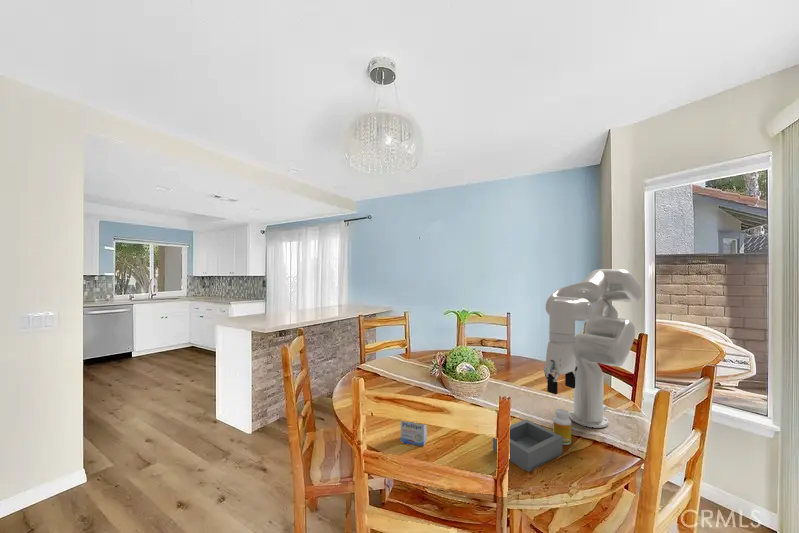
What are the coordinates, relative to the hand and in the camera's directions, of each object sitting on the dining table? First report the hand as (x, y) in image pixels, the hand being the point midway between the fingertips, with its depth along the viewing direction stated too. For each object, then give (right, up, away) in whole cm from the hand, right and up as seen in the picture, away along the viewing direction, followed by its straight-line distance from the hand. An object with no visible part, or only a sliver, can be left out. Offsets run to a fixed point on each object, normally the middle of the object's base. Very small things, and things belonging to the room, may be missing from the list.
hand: (561, 389), depth 108 cm
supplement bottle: (+1, -17, +1) cm, 17 cm away
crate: (-13, -17, -6) cm, 22 cm away
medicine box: (-48, -18, +1) cm, 51 cm away
